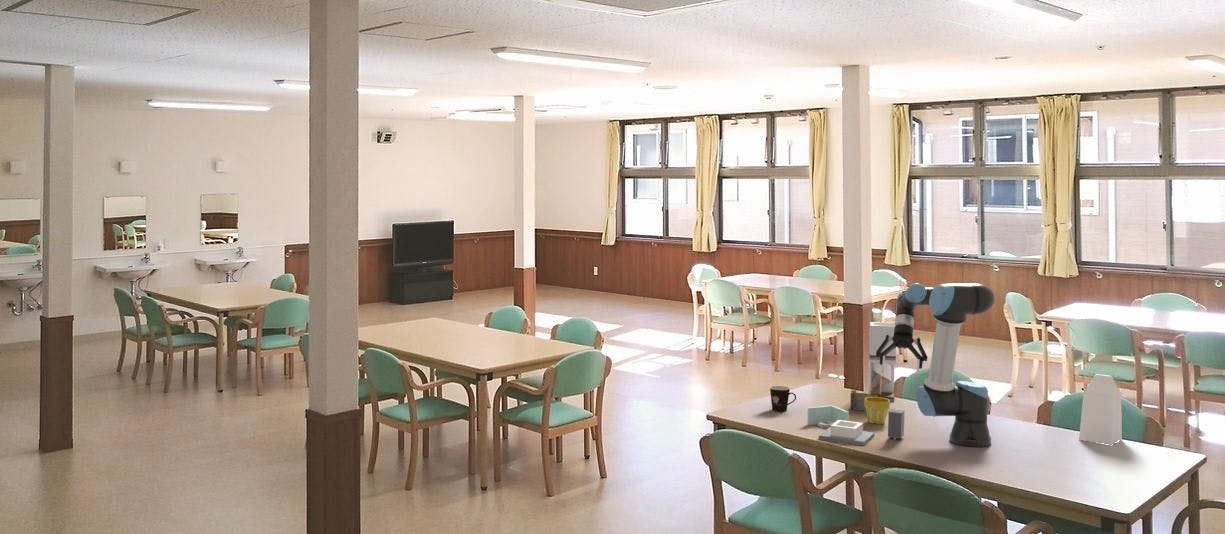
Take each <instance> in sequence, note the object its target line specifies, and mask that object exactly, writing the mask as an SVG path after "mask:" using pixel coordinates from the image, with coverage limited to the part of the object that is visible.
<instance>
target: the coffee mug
mask: <svg viewBox="0 0 1225 534" xmlns="http://www.w3.org/2000/svg"><path fill="white" fill-rule="evenodd" d="M769 389H770V390H769V391H770V400H771V401H770V402H771V411H772V412H776V411H778V412H777V413H784V411H785V412H787V411H788V406H789V405H790V404H792V403H794V402H795V401H796V400H797V396H796V395H797V394H795V393H794V392H791V391H790V390H791V389H790V387H789V386H786V385H785V386H784V385H773V386H770V387H769ZM790 395H793V397H794V399H793V400H792V401H790V402H789V397H790Z"/></svg>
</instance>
